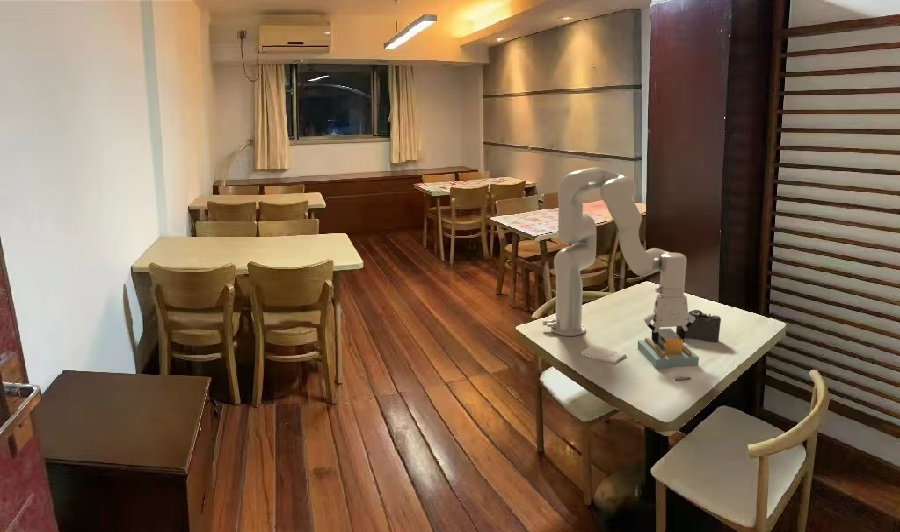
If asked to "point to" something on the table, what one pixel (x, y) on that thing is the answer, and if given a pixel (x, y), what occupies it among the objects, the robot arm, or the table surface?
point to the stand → (667, 360)
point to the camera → (703, 327)
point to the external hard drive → (603, 354)
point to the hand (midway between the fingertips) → (668, 341)
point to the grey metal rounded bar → (683, 378)
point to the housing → (669, 342)
